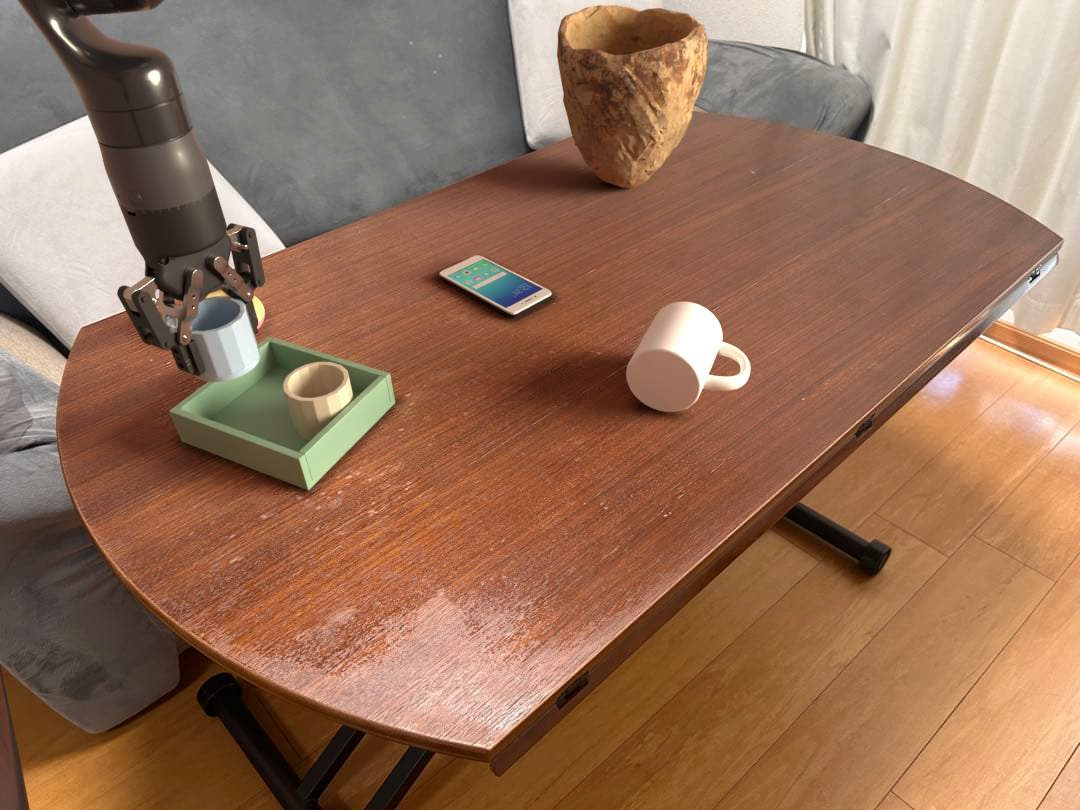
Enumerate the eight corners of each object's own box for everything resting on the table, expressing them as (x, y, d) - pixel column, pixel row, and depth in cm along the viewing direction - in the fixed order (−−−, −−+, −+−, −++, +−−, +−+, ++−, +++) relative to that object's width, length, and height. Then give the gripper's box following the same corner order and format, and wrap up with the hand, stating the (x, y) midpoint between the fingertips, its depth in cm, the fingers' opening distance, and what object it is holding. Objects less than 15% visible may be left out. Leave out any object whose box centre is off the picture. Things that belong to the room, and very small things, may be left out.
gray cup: (227, 389, 70) (209, 340, 67) (176, 371, 72) (157, 323, 69) (274, 352, 75) (260, 305, 71) (225, 337, 77) (209, 290, 73)
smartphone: (478, 253, 106) (554, 291, 98) (478, 259, 107) (554, 297, 98) (436, 272, 102) (512, 314, 94) (437, 278, 103) (512, 320, 94)
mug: (623, 402, 82) (627, 341, 77) (650, 353, 89) (655, 294, 84) (734, 430, 78) (746, 368, 73) (753, 376, 85) (765, 316, 80)
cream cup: (332, 449, 76) (321, 407, 72) (282, 432, 78) (269, 390, 75) (370, 412, 80) (361, 371, 77) (321, 396, 82) (311, 355, 79)
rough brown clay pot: (529, 192, 124) (524, 26, 108) (597, 148, 139) (602, -4, 123) (652, 224, 114) (666, 47, 99) (712, 173, 129) (733, 11, 113)
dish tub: (308, 490, 72) (299, 459, 70) (181, 441, 78) (168, 411, 75) (395, 403, 82) (390, 373, 80) (277, 365, 88) (268, 335, 86)
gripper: (196, 149, 68) (245, 307, 79) (57, 213, 59) (134, 384, 69) (260, 162, 66) (302, 323, 76) (126, 232, 56) (195, 406, 67)
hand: (222, 351), depth 73 cm, fingers closed on gray cup, 6 cm apart
